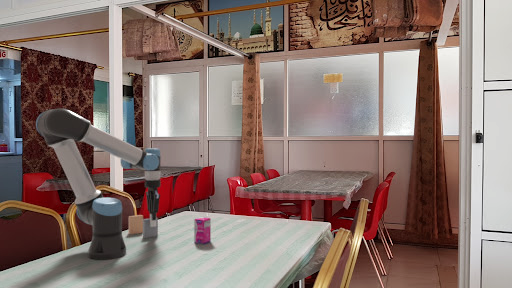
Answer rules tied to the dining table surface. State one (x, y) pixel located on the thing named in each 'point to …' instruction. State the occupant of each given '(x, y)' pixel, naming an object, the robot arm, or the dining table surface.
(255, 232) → the dining table surface
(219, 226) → the dining table surface
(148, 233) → the slate tile
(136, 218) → the terracotta tile
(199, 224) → the supplement box
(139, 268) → the dining table surface
